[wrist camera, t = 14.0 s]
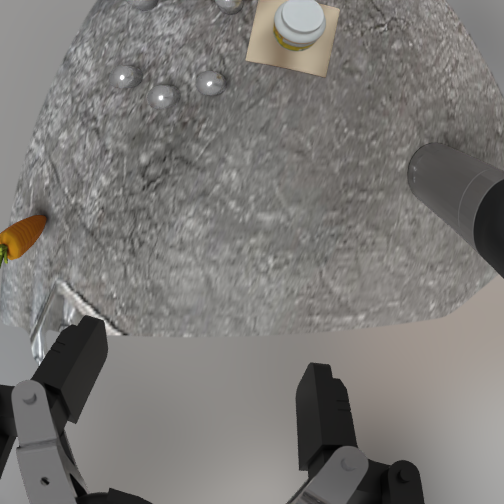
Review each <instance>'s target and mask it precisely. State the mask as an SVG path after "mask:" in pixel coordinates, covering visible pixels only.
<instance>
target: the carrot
mask: <svg viewBox="0 0 504 504" xmlns="http://www.w3.org/2000/svg"><path fill="white" fill-rule="evenodd" d="M46 220H47V219H46V217H45V216H43V215H34V216H31V217H28V218H26V219H23V220H21V221H19V222H16V223H15V224H13V225H12V226H10V227H8V228H7V229H5V230H4V231H3V232H1V233H0V267H1V264H2V260H3V258H4V262H5V263H6V264H7V263H8V259H10V260H13V259H17V258H19V257H21V256H22V255H23V254H24V253H25V252H26V251H27V250H28V249H29V248H30V247H31V246H32V245H33V244H34V243H35V242H36V240H37V239H38V238H39V236H40V235H41V233H42V231H43V229H44V227H45V223H46ZM7 258H8V259H7Z"/></svg>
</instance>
